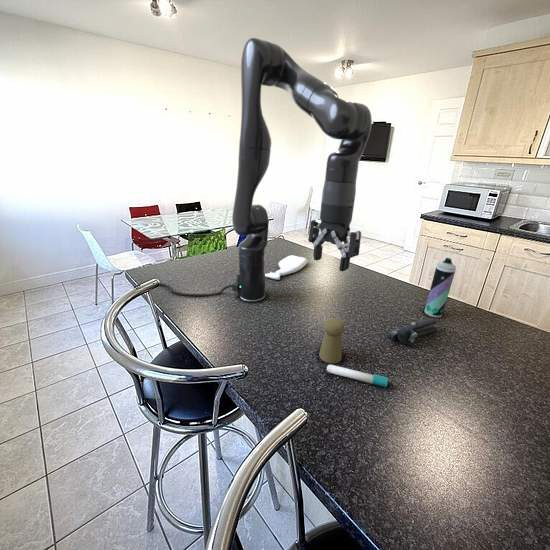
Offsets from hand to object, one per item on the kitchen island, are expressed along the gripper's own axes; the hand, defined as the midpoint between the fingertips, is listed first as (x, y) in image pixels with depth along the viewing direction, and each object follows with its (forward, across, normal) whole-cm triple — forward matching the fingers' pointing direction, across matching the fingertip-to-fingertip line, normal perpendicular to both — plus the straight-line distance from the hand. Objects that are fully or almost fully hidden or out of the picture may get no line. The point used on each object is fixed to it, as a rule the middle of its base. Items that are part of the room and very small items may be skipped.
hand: (329, 264), depth 75 cm
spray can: (+23, +14, +42) cm, 50 cm away
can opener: (+23, +16, +23) cm, 37 cm away
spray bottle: (+25, -44, +26) cm, 57 cm away
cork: (+24, +6, -3) cm, 25 cm away
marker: (+23, +16, -5) cm, 29 cm away
